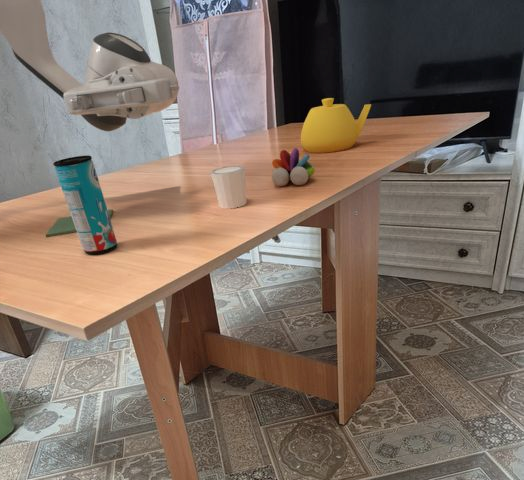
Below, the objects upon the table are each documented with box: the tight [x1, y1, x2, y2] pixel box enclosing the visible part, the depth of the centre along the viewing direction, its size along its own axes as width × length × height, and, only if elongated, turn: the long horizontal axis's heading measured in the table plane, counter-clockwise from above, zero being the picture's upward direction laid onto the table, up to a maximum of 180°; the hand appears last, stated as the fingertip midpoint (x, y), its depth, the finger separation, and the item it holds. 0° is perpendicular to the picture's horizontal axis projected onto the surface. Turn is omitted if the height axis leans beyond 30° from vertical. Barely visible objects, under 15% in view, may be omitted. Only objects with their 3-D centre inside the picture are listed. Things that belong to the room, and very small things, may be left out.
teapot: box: [300, 97, 372, 154], centre depth 133 cm, size 20×19×13 cm
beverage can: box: [52, 155, 118, 255], centre depth 78 cm, size 6×6×15 cm
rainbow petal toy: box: [271, 147, 316, 187], centre depth 104 cm, size 8×10×7 cm
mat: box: [45, 208, 114, 238], centre depth 98 cm, size 12×12×1 cm
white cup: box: [210, 165, 247, 210], centre depth 94 cm, size 7×7×7 cm
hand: (97, 101), depth 80 cm, fingers open, 8 cm apart
